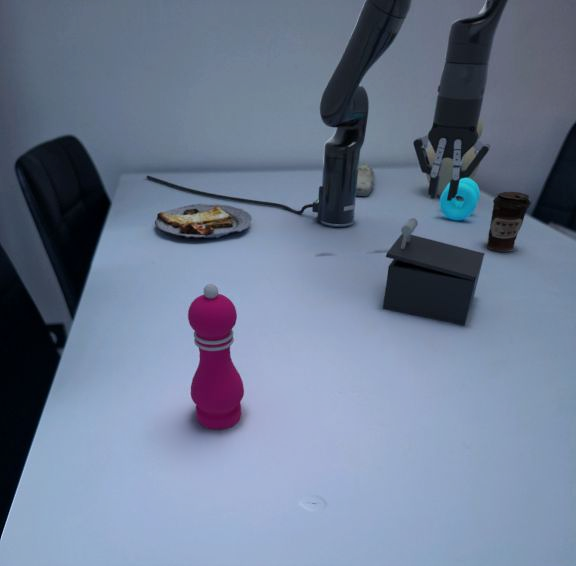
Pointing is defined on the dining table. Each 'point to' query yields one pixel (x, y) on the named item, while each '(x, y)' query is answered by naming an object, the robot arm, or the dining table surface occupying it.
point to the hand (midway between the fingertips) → (441, 198)
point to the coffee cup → (507, 220)
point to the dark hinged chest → (428, 293)
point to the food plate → (203, 220)
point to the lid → (435, 254)
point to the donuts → (460, 208)
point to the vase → (447, 164)
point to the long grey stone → (364, 179)
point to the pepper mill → (215, 361)
